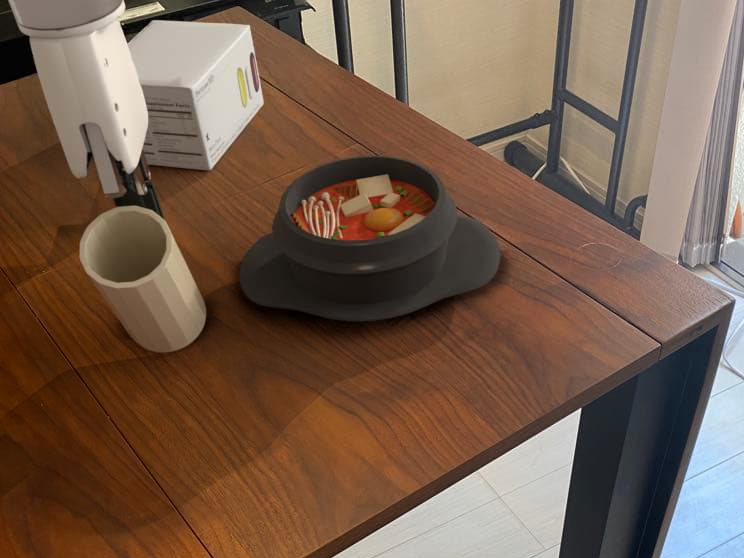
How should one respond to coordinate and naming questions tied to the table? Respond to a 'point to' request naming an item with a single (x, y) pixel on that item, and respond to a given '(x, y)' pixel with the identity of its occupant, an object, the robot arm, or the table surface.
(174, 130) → the supplement box
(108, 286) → the cup
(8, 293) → the table surface
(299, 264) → the casserole
